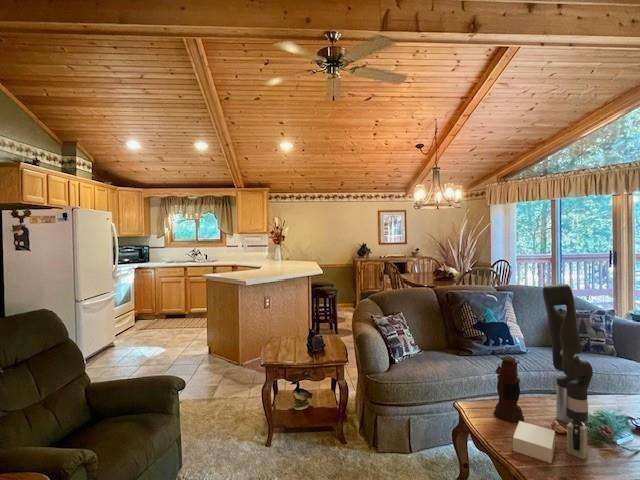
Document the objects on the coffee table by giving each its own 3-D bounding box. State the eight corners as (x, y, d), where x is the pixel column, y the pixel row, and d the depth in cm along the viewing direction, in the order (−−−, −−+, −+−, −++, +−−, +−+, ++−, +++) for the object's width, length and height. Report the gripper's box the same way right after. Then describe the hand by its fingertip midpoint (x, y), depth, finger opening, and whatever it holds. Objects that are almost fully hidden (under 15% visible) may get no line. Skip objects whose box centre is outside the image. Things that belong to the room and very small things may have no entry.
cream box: (519, 433, 167) (519, 420, 167) (555, 444, 159) (555, 430, 159) (513, 450, 155) (512, 437, 155) (551, 463, 146) (551, 448, 146)
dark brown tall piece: (513, 427, 172) (512, 366, 171) (486, 415, 184) (485, 357, 183) (531, 416, 182) (531, 358, 181) (504, 405, 193) (504, 350, 192)
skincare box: (587, 455, 150) (587, 427, 150) (583, 460, 148) (584, 431, 147) (570, 448, 155) (570, 421, 155) (566, 452, 153) (566, 424, 152)
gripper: (567, 398, 159) (567, 435, 159) (564, 411, 147) (564, 451, 148) (588, 402, 154) (588, 441, 155) (587, 417, 143) (587, 458, 143)
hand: (576, 446), depth 151 cm, fingers closed on skincare box, 5 cm apart
